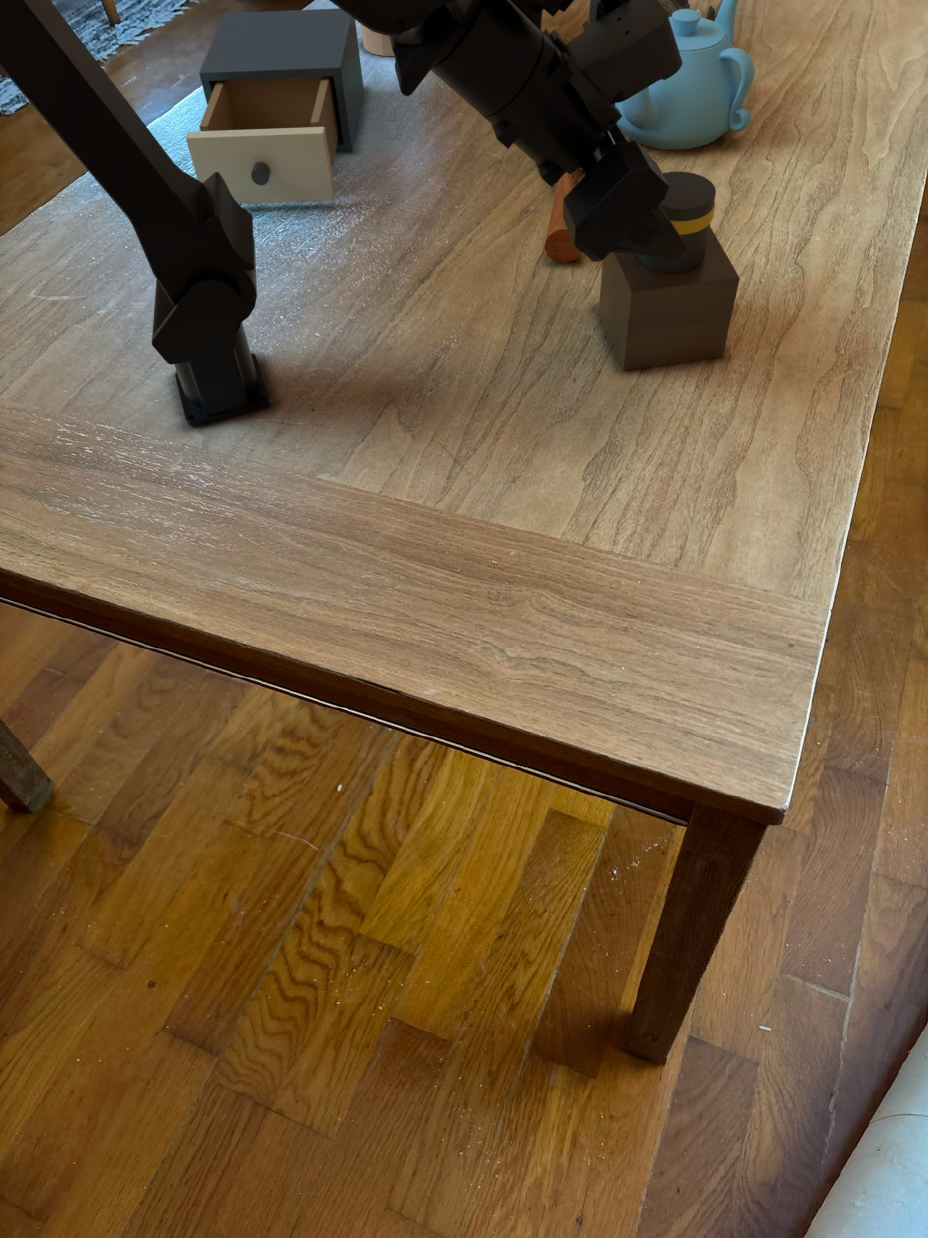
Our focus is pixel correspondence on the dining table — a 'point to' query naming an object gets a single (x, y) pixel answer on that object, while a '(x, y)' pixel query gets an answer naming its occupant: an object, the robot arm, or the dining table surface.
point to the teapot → (694, 87)
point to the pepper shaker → (376, 42)
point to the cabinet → (291, 56)
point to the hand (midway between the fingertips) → (662, 217)
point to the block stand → (667, 308)
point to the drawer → (269, 139)
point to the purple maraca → (560, 225)
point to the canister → (686, 220)
